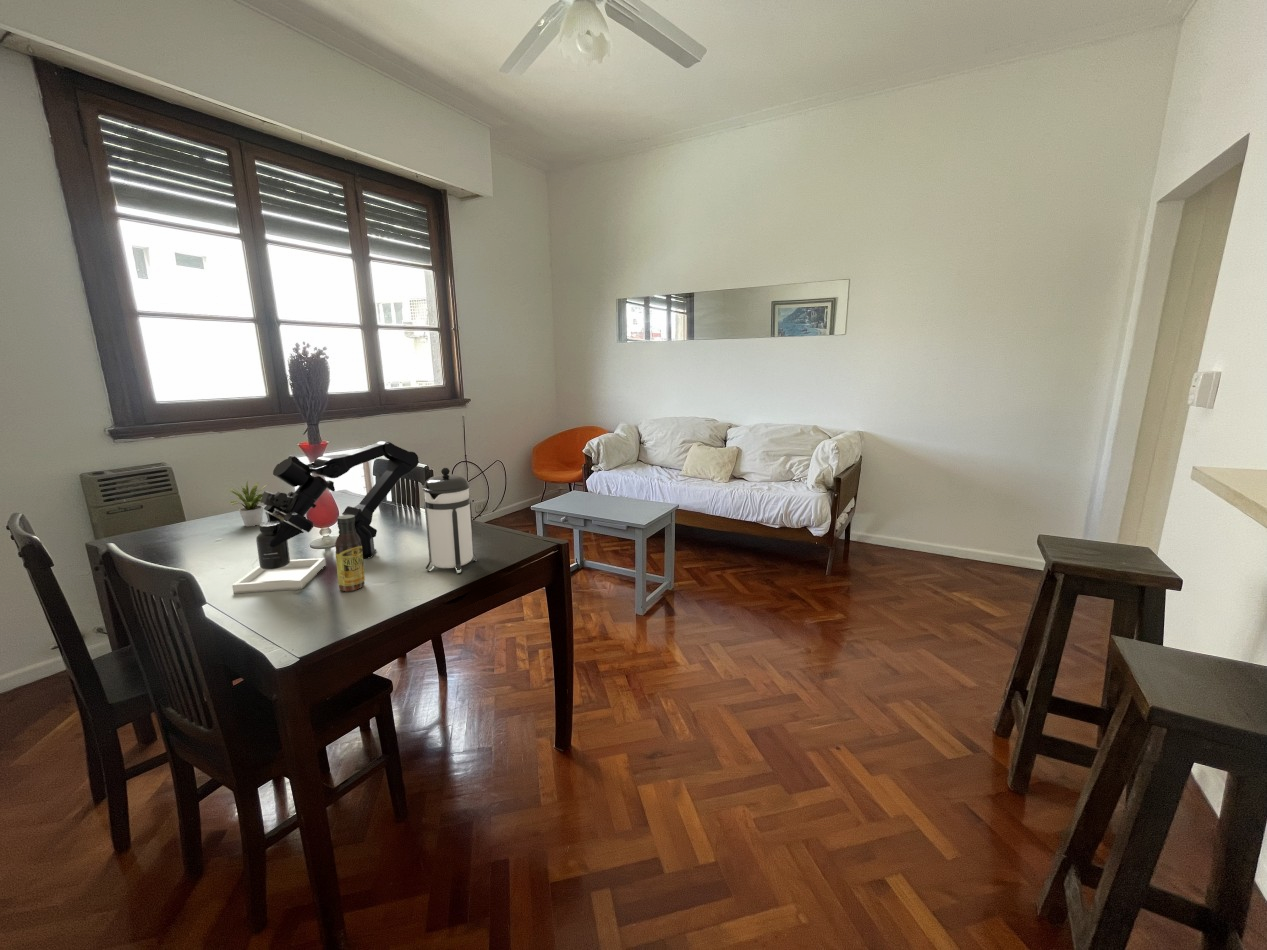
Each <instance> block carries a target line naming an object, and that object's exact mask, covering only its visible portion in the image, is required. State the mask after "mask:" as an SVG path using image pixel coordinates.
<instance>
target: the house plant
mask: <svg viewBox="0 0 1267 950" xmlns="http://www.w3.org/2000/svg"><path fill="white" fill-rule="evenodd" d="M248 485H249V481H248V480H247V481H246V483H245V487H243V486H242V485H240V486H241V489H242V490H241V489H240V491H241V493H240V492H238V491H237V490H236V489H234V488H235V486H232V488H230V489H227V492H228V491H229V492H231V493H233V494H234V495H235V496H237V499H239V500H241V501H242V502H243V503H242V502H238V501H236V500H232V501H230V502H229V504H231V506H233V505H242V506H243V507H241V508H239V509H238V511H239V513H240V516H241V520H242V521H243V524H244V526H245V527H255V525H257V526H259V524H261V523H263V514H264V512H263V511H264V506H263V505H259V503H261V502H260V501H261V499H262V496H263V493H260V492H261V491H262V489H265V488H264V487H266V486H268V484H266V485H263V487H261V488H259V489H258V485H259V482H257V483H255V484H254V485H253V486H252V488H251V490H249V486H248ZM236 488H238V489H239V487H238V486H236ZM242 494H243V495H242Z"/></svg>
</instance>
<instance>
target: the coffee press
mask: <svg viewBox="0 0 1267 950" xmlns="http://www.w3.org/2000/svg"><path fill="white" fill-rule="evenodd" d="M440 472H441V474H440V475H439V474H438V475H435V476H434V475H433V476H432V477H429V478H428V479H426V481H425V482H424V485H423V486H422V487H421V488H422V491H423V493H424V499H423V500H424V501H423V502H424V513H425V514H424V515H425V524H426V536H427V548H428V559H429V560H428V563H427V565H426V566H425V570H426V569H427V570H429V567H430V565H432V566H434V567H435V568H440V569H455V567H456V568H457V570H460V569H462V570H463V568H462V566H466V565H467V564H468V563H470V562H471V561H472V560H473V557H475V558H476V557H477V556H476V555H475V554H474V553H475V552H474V541H473V540H474V539H473V515H472V502H471V495H470V488H471V484H470V483H469V481H468V480H467V478H466V477H465V476H462V475H459V474H450V472H451V471H450V469H449V467H443V468H441V471H440Z"/></svg>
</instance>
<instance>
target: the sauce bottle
mask: <svg viewBox="0 0 1267 950" xmlns="http://www.w3.org/2000/svg"><path fill="white" fill-rule="evenodd" d="M336 521H337V522H338V524H339V528H338V535H337V538H336V539H335V543H334V545H335V553H334V554H335V560H336V561H335V562H336V572H337V584H338V589H339V591H342V592H344V591H345V592H353V590H354V591H358V590H360V589H362V588H364V586H365V581H366V578H365V566H364V558H363V553H362V545H361V541H360V538H359V536H358V535H357V533H356V529H355V516H354V515H342V516H339V515H338V517H337V518H336ZM338 524H337V525H338ZM361 587H362V588H361ZM359 588H360V589H359ZM357 589H358V590H357Z"/></svg>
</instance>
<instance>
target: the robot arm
mask: <svg viewBox="0 0 1267 950" xmlns="http://www.w3.org/2000/svg"><path fill="white" fill-rule="evenodd" d="M380 457H381V458H382V457H384V458H385V459H387V460H388V461H387V467H386V470H385V471H384V472H383V473H382V475H381V476H380V477H379V478H378V479H377V482H375V484H374V485H373V486H372V487H371V488H370V490H369V491H368V492H367V494H366V495H365V496H364V497H363V498H362V500H361V501H359V503H358V504H357V505H355V506H351V505H347V507H345V509H344V510H343V512H342V513H341V514H339V515H338V517H339V516H342V515H354V516H355V529H356V533H357V535H358V536H359V538H360V541H361V545H362V553H363V559H371V558H372V557H373V556H374V555H375V554H376V553H377V549H376V548H375V543H374V542H375V541H374V540H375V539H374V538H375V537H377V533H378V530H377V529H376V528H375V527H373V526H372V525H371V524H372V521H373V515H374V512H375V511H376V510H377V508H378V507H379V506H380V505H381V503H382V502H383V501H384V500H385V499H386V497H387V496H388V494H389V493H390V491H392V490H393V488H394V487H395V486H396V485H397V483H398V482H399V480H400V479H402V478H403V477H404V476H407V475H408V474H410V473H411V472H412V471H413V470H414V469H415V468H416V467H417V466H418V465H419V463H420V461H419V456H418V454H417V453H416V452H414V451H410V450H406V449H404V448H402V447H399V446H397V445H396V444H394V443H392V442H390V441H384V440H379V441H377V442H376V443H373V444H370V445H367V446H364V447H360V448H358V449H355V450H352V451H349V452H347V453H341V454H331V455H324V456H319V457H317V458H315V460H314V461H312V462H309V463H304V462H302V461H301V460H300V459H299V458H298V457H296V456H294V455H289V456H288V458H285V459H283V460H281V462H280V463H278V464H276V465H275V467H274V469H273V471H272V474H273V476H274V477H277V478H278V479H279V480H281V481H283V482H284V483H285V484H287V485H289V486H291V488H292V487H293V488H296V487H297V488H296V489H295V491H289V492H288V493H285V492H281V491H277V492H271V491H266V490H264V491H263V493H262V494H263V496H262V497H261V498H262V499H261V501H260V502H259V503H261V504H264V505H266V506H264V507H263V510H265V515H266V518H267V521H266V522H268V521H280V525H281V527H280V529H279V530H278V532H277V534H276V535H275V537H274V538H273V540H272V541H271V543H270V545H269V546H271V547H275V546H277V545H279V544H281V543H283V542H285V541H286V540H288V541H289V540H290V539H292V538H295V537H296V536H298V535H300V534H304V532H307V533H310V532H311V531H312V529H314V522H313V521H312V520H309V519H308V518H307V516H305V515H306V514H308V512H309V511H310V510H311V509H312V508H313V509H315V507H317V504H316V502H317V501H319V499H320V498H321V496H322V495H323V494H324V492H326V490H329V491H331V492H336V489H335V485H334V483H335V482H334V481H332V480H326V479H325V478H329V479H337V478H340V477H341V476H343V475H345V474H346V473H348V472H349V471H350V469H352V468H355V467H357V466H359V465H361V464H364V463H368V462H370V461H372V460H375V459H378V458H380ZM313 474H314V475H316V476H314V475H313ZM336 524H337V528H338V529H339V524H338V522H337V523H336Z"/></svg>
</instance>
